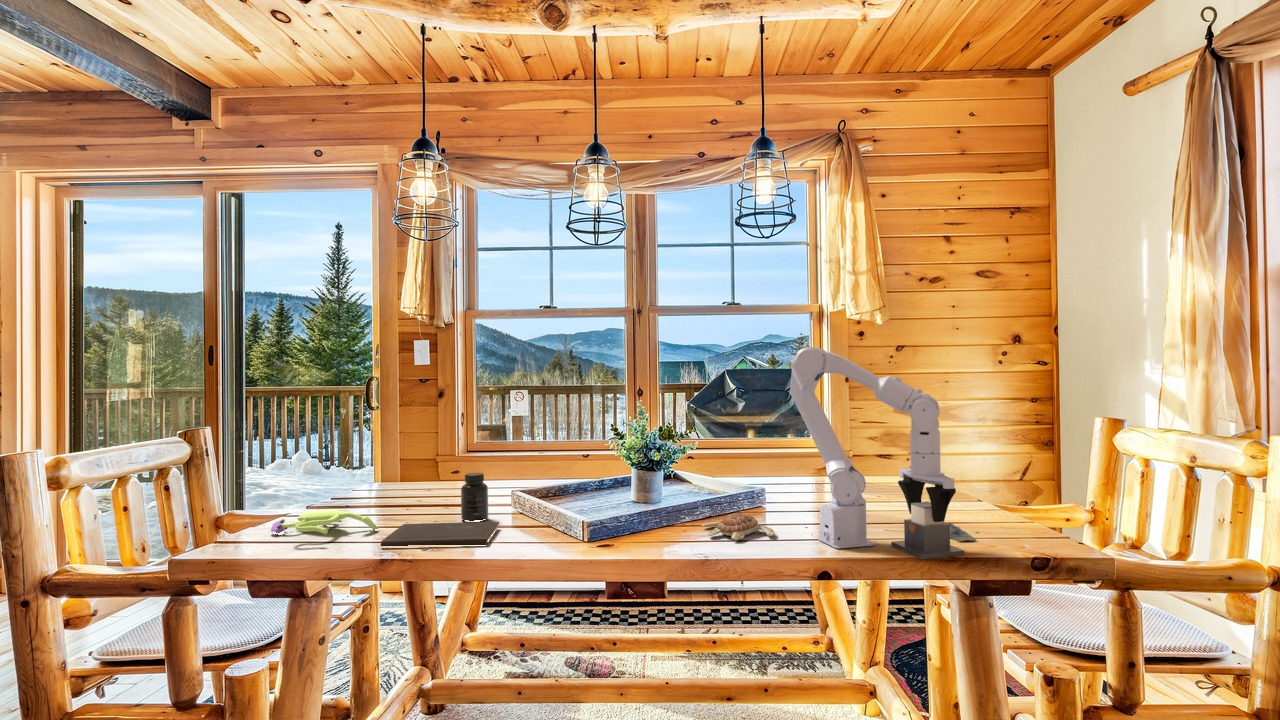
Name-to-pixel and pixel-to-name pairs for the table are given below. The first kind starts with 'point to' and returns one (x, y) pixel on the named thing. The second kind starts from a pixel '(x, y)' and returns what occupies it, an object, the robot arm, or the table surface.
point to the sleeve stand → (927, 541)
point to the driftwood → (959, 534)
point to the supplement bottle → (474, 498)
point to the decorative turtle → (737, 526)
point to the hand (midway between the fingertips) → (926, 517)
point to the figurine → (319, 521)
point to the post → (922, 514)
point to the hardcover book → (441, 534)
